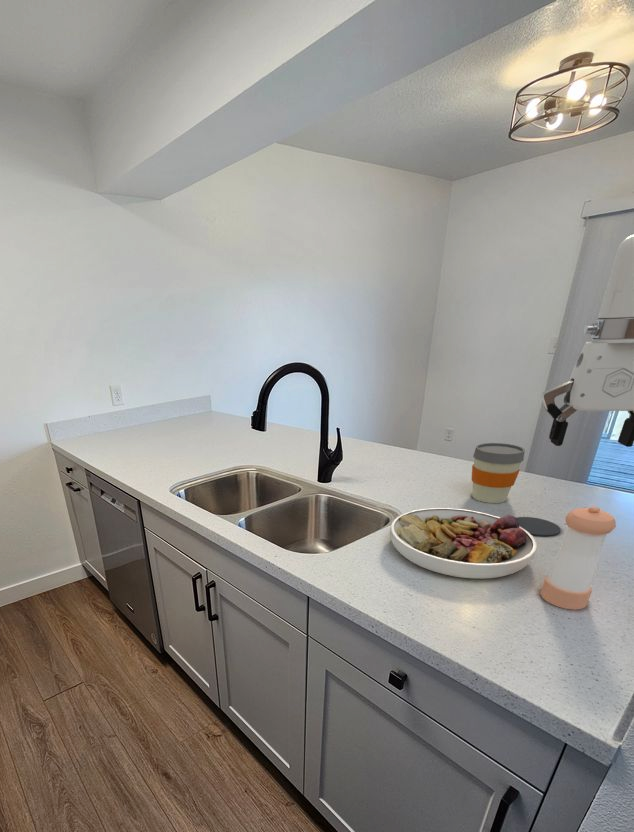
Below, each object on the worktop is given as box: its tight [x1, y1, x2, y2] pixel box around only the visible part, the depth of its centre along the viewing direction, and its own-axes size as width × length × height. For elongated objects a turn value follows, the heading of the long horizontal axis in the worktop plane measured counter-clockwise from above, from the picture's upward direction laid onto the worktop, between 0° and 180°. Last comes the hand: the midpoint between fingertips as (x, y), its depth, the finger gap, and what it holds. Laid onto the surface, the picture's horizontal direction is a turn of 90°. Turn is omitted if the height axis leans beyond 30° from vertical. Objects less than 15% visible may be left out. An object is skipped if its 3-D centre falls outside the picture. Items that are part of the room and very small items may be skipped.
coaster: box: [516, 516, 561, 537], centre depth 111 cm, size 11×11×1 cm
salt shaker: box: [540, 505, 617, 611], centre depth 80 cm, size 7×7×19 cm
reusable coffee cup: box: [471, 442, 526, 504], centre depth 127 cm, size 13×13×15 cm
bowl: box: [389, 507, 538, 580], centre depth 101 cm, size 30×30×8 cm
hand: (589, 444), depth 72 cm, fingers open, 9 cm apart
